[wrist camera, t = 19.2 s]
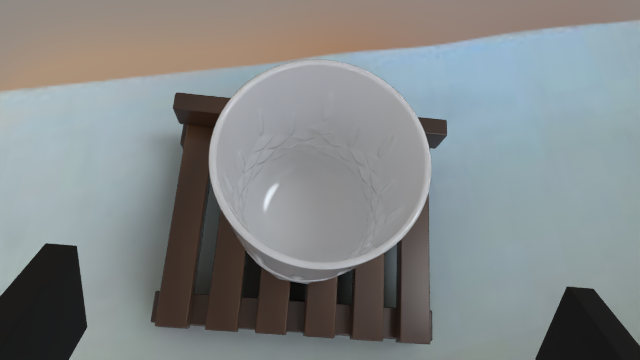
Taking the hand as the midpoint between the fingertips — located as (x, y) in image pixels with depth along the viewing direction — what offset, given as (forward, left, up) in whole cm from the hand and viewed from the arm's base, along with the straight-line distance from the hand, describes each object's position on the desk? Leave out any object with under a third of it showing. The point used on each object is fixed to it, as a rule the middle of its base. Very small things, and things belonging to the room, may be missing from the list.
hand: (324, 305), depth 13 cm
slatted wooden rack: (0, -5, -16) cm, 17 cm away
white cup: (0, -5, -12) cm, 14 cm away
